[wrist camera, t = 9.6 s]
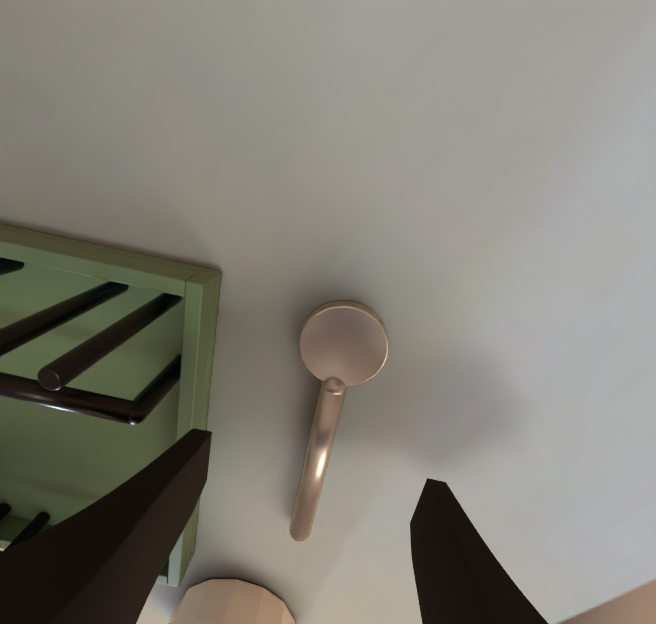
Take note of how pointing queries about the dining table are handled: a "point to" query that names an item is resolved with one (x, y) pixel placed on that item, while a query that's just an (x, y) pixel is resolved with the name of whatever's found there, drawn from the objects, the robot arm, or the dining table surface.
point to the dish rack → (82, 364)
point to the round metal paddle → (333, 387)
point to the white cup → (230, 604)
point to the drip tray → (99, 378)
